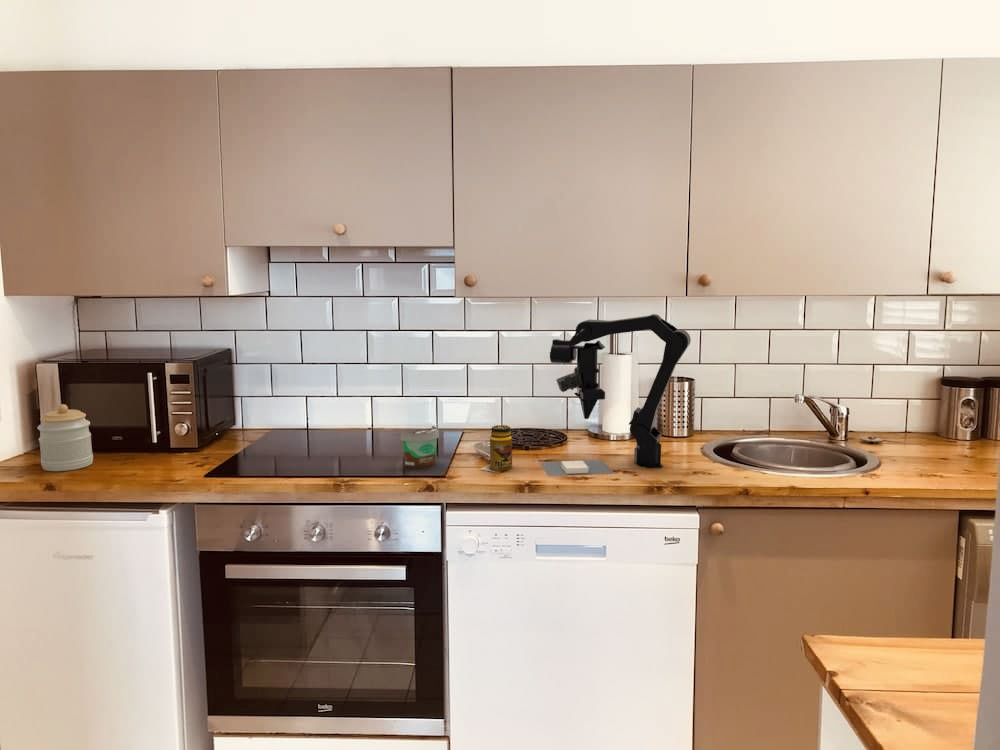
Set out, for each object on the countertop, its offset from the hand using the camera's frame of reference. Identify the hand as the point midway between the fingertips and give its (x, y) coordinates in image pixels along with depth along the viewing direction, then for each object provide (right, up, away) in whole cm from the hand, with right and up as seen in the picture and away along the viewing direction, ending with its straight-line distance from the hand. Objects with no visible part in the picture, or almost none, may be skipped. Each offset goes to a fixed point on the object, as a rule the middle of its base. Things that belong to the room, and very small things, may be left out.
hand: (586, 418), depth 226 cm
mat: (-4, -14, -8) cm, 16 cm away
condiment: (-25, -14, -7) cm, 29 cm away
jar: (-146, -13, -3) cm, 147 cm away
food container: (-46, -13, -4) cm, 48 cm away
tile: (-5, -12, -8) cm, 15 cm away
